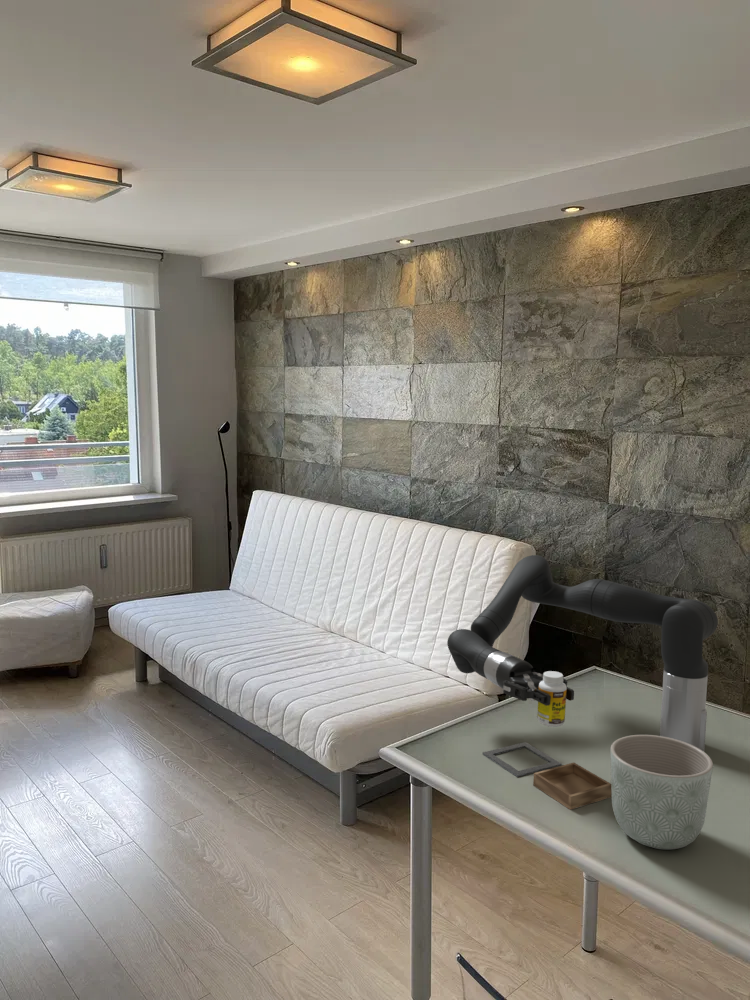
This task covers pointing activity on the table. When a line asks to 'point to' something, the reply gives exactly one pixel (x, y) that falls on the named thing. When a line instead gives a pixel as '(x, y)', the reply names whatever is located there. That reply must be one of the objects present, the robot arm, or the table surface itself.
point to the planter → (659, 789)
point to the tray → (572, 785)
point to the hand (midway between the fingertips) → (560, 698)
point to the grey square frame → (517, 773)
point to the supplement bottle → (552, 699)
